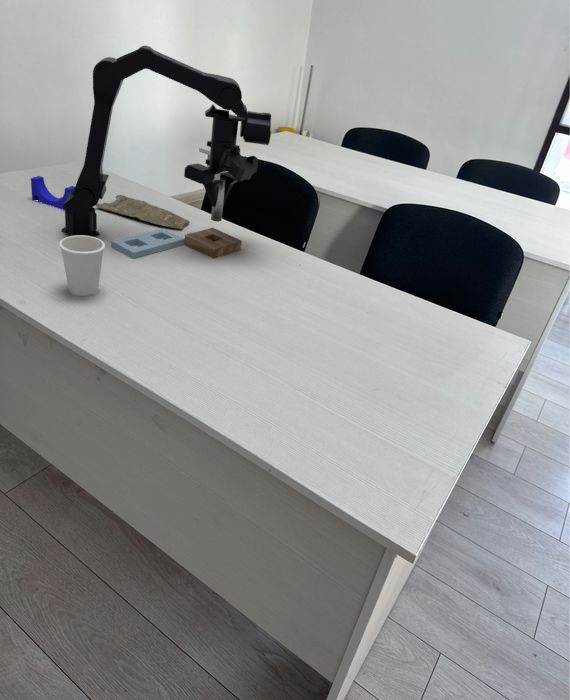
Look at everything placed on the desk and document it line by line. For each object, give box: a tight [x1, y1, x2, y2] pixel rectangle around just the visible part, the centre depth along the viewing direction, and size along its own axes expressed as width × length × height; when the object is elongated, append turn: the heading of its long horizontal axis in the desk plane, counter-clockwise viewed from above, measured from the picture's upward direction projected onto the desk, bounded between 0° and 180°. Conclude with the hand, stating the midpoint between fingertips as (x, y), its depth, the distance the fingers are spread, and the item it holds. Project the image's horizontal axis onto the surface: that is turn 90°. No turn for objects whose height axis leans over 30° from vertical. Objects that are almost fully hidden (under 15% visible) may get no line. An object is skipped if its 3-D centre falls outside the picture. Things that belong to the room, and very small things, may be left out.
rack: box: [110, 227, 185, 259], centre depth 140 cm, size 16×8×2 cm, turn 143°
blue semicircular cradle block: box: [30, 175, 76, 211], centre depth 153 cm, size 12×4×6 cm, turn 69°
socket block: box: [184, 227, 243, 259], centre depth 145 cm, size 10×10×2 cm
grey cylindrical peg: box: [210, 178, 226, 222], centre depth 140 cm, size 3×3×10 cm
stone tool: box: [95, 194, 191, 230], centre depth 156 cm, size 11×3×25 cm
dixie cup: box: [58, 235, 106, 297], centre depth 115 cm, size 8×8×10 cm
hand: (217, 205), depth 140 cm, fingers closed on grey cylindrical peg, 3 cm apart
